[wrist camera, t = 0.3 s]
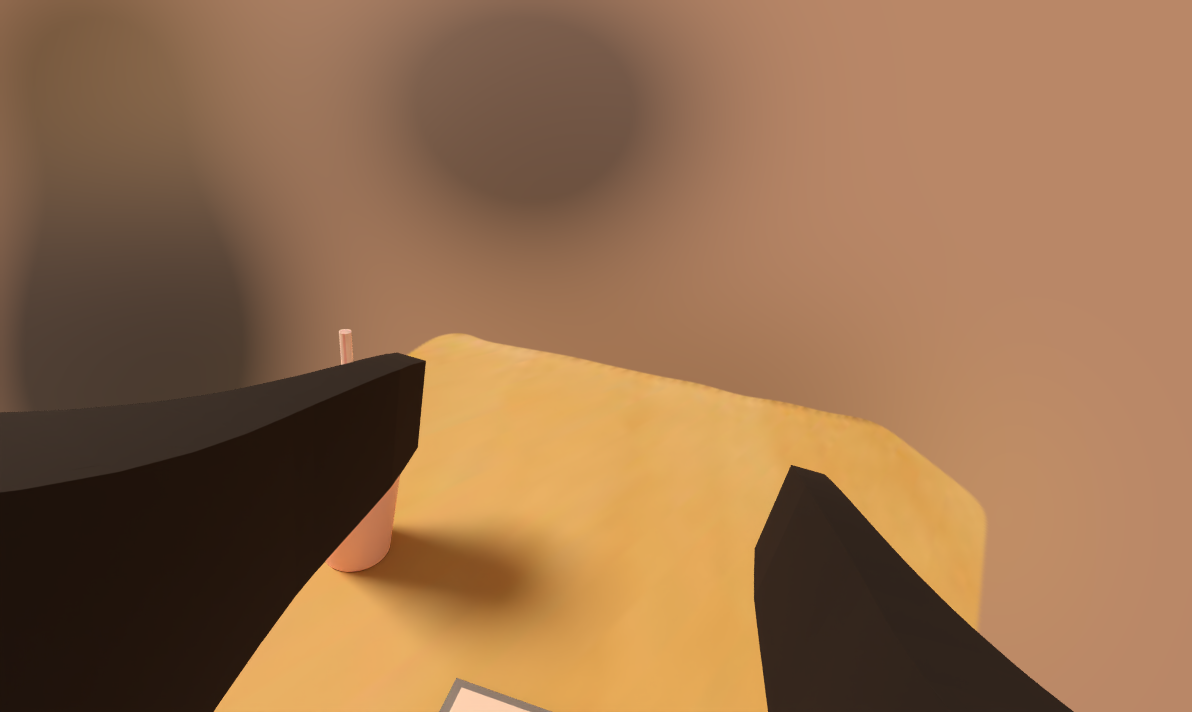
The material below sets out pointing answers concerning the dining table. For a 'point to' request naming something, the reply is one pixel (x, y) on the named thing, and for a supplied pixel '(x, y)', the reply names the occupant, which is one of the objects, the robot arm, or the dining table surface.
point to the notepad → (482, 700)
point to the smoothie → (376, 527)
